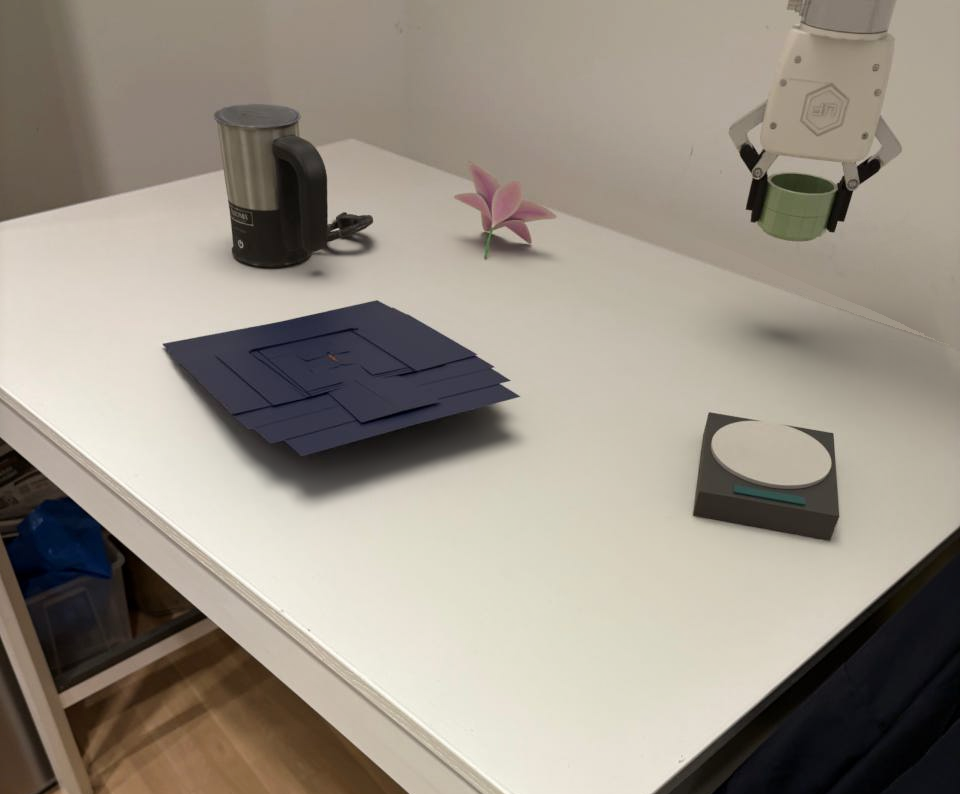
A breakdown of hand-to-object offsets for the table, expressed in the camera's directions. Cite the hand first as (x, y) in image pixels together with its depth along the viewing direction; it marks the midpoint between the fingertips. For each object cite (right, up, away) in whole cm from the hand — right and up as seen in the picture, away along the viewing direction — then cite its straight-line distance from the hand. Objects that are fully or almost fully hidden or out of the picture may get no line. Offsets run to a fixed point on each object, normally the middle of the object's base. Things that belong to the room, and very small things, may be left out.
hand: (792, 221), depth 94 cm
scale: (-7, -29, -14) cm, 33 cm away
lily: (-29, +6, +21) cm, 37 cm away
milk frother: (-53, +5, +18) cm, 56 cm away
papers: (-45, -19, -6) cm, 49 cm away
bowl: (0, -1, +1) cm, 1 cm away
